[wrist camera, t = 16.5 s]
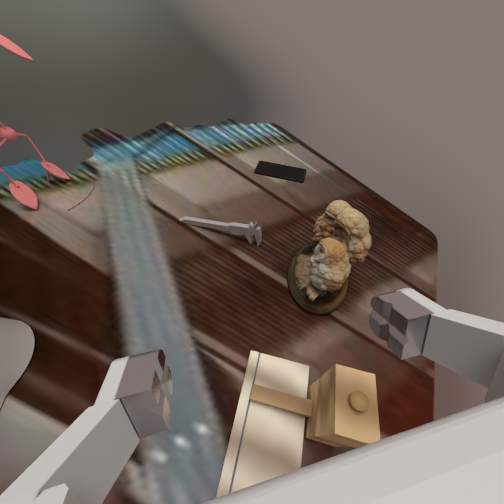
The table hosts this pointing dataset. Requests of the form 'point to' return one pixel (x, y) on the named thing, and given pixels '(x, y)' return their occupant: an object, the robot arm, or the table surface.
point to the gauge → (332, 407)
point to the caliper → (229, 228)
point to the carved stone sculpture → (329, 259)
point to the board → (265, 426)
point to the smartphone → (280, 171)
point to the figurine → (8, 134)
